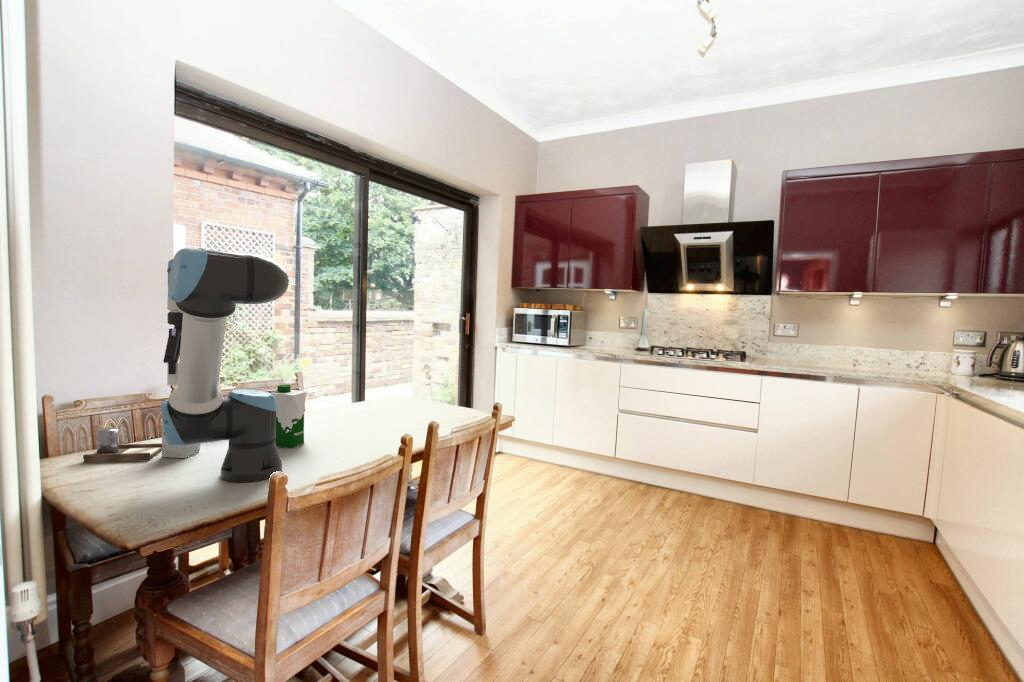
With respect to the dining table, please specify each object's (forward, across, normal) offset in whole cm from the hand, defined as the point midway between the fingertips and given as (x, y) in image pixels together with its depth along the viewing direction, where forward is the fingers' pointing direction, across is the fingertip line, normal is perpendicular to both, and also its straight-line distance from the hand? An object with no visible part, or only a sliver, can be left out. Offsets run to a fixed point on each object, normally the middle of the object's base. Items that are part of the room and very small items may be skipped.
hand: (182, 381), depth 147 cm
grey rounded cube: (+21, 0, +19) cm, 29 cm away
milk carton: (+23, +8, -29) cm, 38 cm away
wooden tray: (+23, 0, +15) cm, 27 cm away
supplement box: (+23, 0, 0) cm, 23 cm away
